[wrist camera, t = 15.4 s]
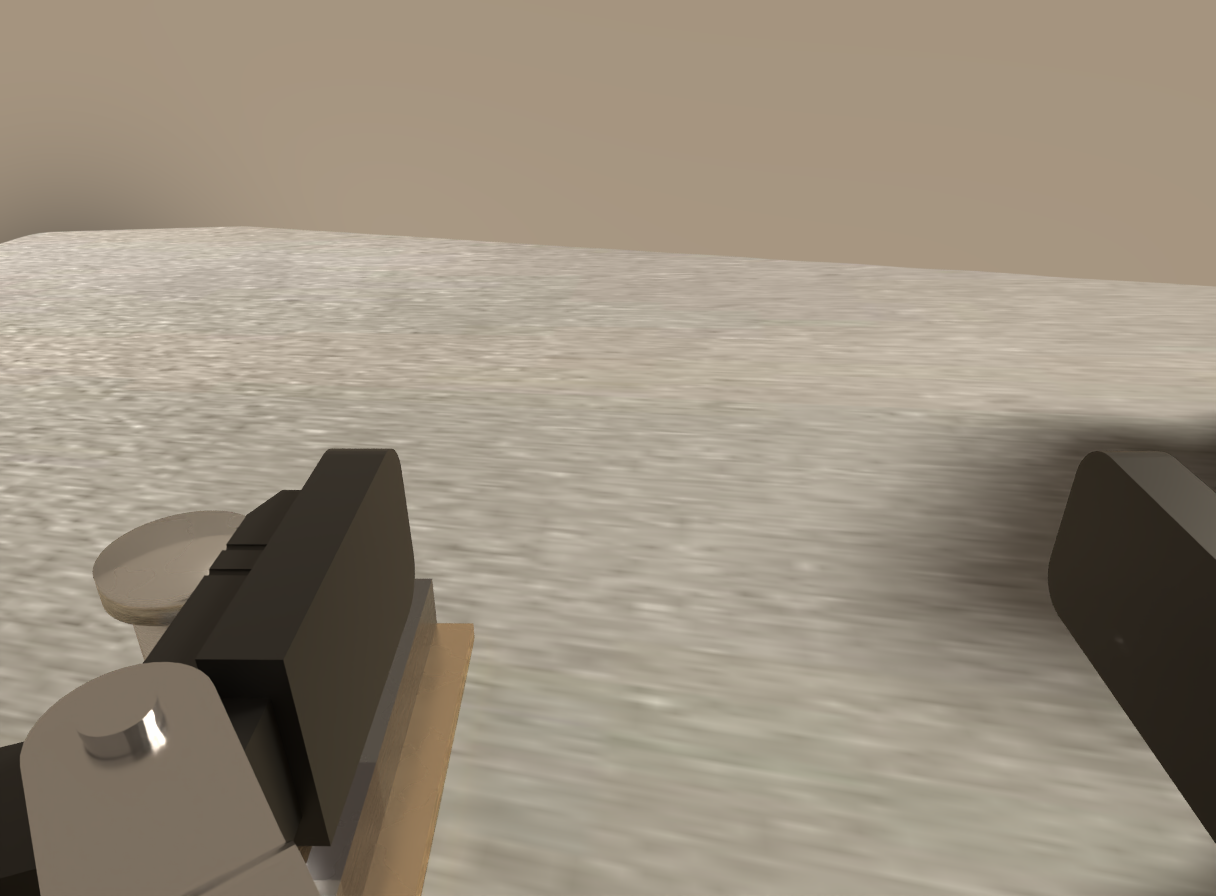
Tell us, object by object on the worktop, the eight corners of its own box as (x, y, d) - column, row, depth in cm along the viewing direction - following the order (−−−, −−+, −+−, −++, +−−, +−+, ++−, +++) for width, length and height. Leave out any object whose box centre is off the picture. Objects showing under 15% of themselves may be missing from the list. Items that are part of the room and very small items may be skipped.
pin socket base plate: (257, 637, 47) (242, 568, 45) (474, 637, 47) (468, 569, 45) (-200, 1461, 20) (-292, 1389, 18) (303, 1460, 20) (270, 1388, 18)
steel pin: (288, 799, 36) (215, 495, 29) (355, 864, 33) (292, 545, 26) (177, 878, 33) (66, 556, 26) (241, 957, 30) (136, 620, 23)
